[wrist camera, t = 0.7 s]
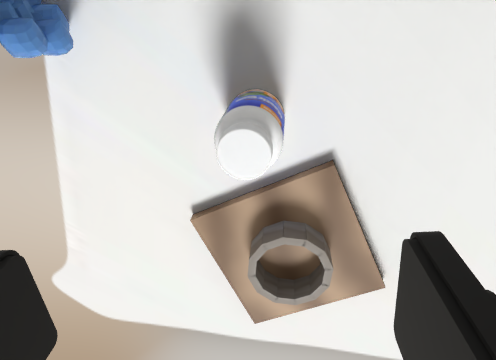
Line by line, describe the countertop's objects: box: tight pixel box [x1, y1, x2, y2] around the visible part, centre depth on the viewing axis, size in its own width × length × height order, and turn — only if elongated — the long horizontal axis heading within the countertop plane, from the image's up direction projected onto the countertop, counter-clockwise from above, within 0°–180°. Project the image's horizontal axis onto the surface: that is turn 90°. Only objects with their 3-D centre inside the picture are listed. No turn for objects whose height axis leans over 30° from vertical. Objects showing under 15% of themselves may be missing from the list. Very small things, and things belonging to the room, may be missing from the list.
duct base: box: [190, 160, 385, 324], centre depth 38 cm, size 16×16×4 cm
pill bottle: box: [214, 89, 285, 180], centre depth 29 cm, size 5×5×10 cm
